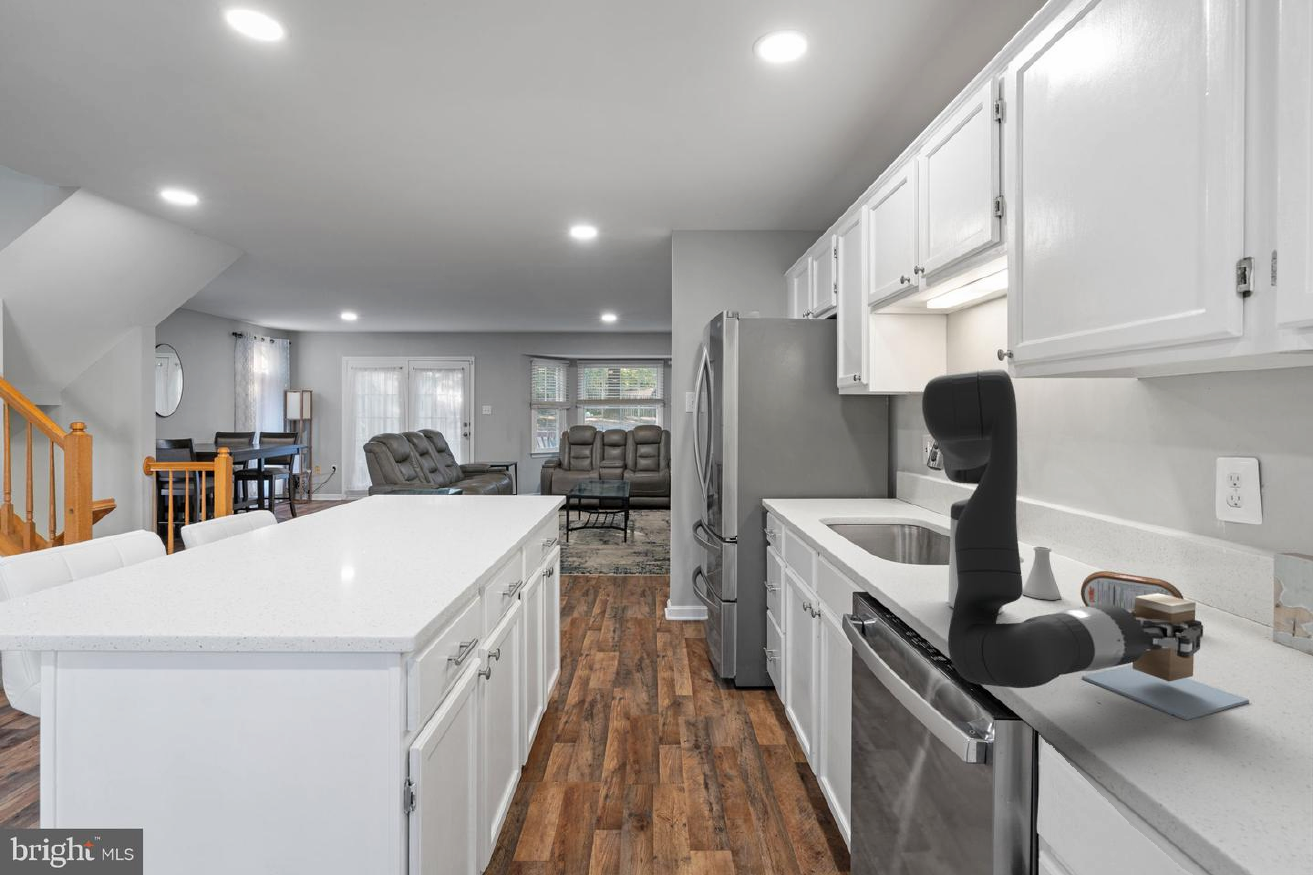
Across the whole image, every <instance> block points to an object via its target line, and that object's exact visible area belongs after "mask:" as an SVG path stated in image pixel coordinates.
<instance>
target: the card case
mask: <svg viewBox="0 0 1313 875" xmlns="http://www.w3.org/2000/svg"><path fill="white" fill-rule="evenodd" d="M1196 602H1197V601H1193V600H1187V599H1180V598H1176V597H1172V596H1168V595H1164V594H1159V593H1157V594H1150V595H1143V596H1136V597H1135V607H1134V613H1135V618H1138V617H1142V618H1145V619H1164V620H1166V621H1169V622H1171V623H1179V622H1185V621H1190V620H1196V604H1197V603H1196ZM1158 627H1159V626H1158ZM1175 632H1176V629H1174V630H1173V633H1172V638H1173V637H1175ZM1194 658H1195V654H1193V655H1192V656H1191V657H1190V658H1182V657H1179V656H1177V653H1176V652H1175V649H1172V648H1161V649H1158V650H1154V649H1151V650H1146V651H1145V652H1144V653H1143V654H1142V656H1141V657H1140V658H1139V659H1137V660H1136V661H1134V662H1132V665H1133V669H1135V670H1137V671H1140V672H1143V673H1146V674H1149V675H1152V676H1154V677H1157V678H1160V679H1163V680H1166V681H1169V682H1170V681H1174V680H1179V679H1183V678H1191V677H1193V676H1194V663H1195V662H1194Z"/></svg>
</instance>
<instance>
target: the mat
mask: <svg viewBox="0 0 1313 875" xmlns="http://www.w3.org/2000/svg"><path fill="white" fill-rule="evenodd" d="M1081 680H1085V681H1086V682H1089V683H1090V684H1091V683H1092V684H1094V685H1096V686H1099V687H1101V688H1104V689H1107V690H1109V691H1112V692H1114V693H1116V694H1118V695H1119V694H1120V695H1121V696H1125V697H1127V698H1129V699H1132V700H1135V701H1137V702H1139V703H1142V704H1144V705H1146V706H1150V707H1152V708H1154V709H1157V710H1159V711H1162V712H1164V713H1167V714H1169V715H1172V714H1173V716H1174V715H1175V717H1177V718H1179V719H1182V720H1185V721H1189V720H1193V719H1196V718H1199V717H1203V716H1207V715H1210V714H1213V713H1217V712H1220V711H1225V710H1227V709H1230V708H1232V709H1233V708H1235V707H1238V706H1241V705H1245V704H1248V703H1249V704H1250V699H1248V698H1246V697H1243V696H1240V695H1238V694H1235V693H1231V692H1229V691H1225V690H1222V689H1220V688H1217V687H1215V686H1214V687H1213V686H1211V685H1208V684H1205V683H1202V682H1199V681H1198V680H1197V681H1196V680H1193V679H1190V678H1189V677H1187V678H1183V679H1179V680H1174V681H1170V682H1169V681H1166V680H1163V679H1160V678H1157V677H1154V676H1152V675H1149V674H1146V673H1143V672H1140V671H1137V670H1135V669H1133V664H1130V665H1126V666H1125V665H1124V666H1121V667H1116V668H1111V669H1107V670H1102V671H1099V672H1098V671H1097V672H1093V673H1089V674H1084V675H1081Z"/></svg>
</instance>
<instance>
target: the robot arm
mask: <svg viewBox="0 0 1313 875" xmlns="http://www.w3.org/2000/svg"><path fill="white" fill-rule="evenodd" d="M921 406H922V407H921V408H922V409H921V410H922V416H923V420H924V423H925V426H926V428H927V431H928V433H929V434H930V436H931V437H932V438H933V440H934V441H935V442H936V445H937V447H938V449H939V452H940V453H941V455H942V462H943V464H942V465H943V470H944V472H945V476H946V477H947V478H948V480H950V481H951V482H953V483H956V484H967V485H968V484H969V485H972V484H973V485H977V486H976V488H975V489H974V491H973V493H972V495H971V496H970V498H967V499H966V498H965V499H963V500H959V501H955V502H954V503H952V504H951V507H950V530H949V531H950V542H949V556H948V558H949V559H948V562H949V563H948V601H949V602H948V605H949V607H951V608H952V612H951V618H950V623H949V628H948V629H949V630H948V636H947V647H948V654H949V658H950V660H951V662H952V665H953V667H954V669H955V671H956V672H957V673H958V675H959V676H960V677H961V678H963V679H964V680H965V681H966V682H969V683H972V684H976V685H981V686H983V685H984V686H991V687H992V686H993V687H1003V688H1011V689H1027V688H1035V687H1040V686H1043V685H1046V684H1048V683H1049V682H1052V681H1053V680H1055V679H1057V678H1058V677H1060V676H1063V675H1064V676H1065V675H1069V674H1074V673H1079V672H1094V671H1100V670H1104V669H1109V668H1113V667H1118V666H1123V665H1124V666H1125V665H1128V664H1133V662H1134V661H1136V660H1137V659H1139V658H1140V657H1141V656H1142V654H1143V653H1144V652H1145V651H1146V650H1151V649H1154V650H1158V649H1161V648H1172V649H1175V652H1176V653H1177V656H1179V657H1182V658H1190V657H1191V656H1192V655H1193V654H1194V655H1195V654H1196V653H1197V652H1198V651H1199V650H1201V638H1203V637H1204V625H1203V624H1202V621H1201V620H1197V619H1195V620H1190V621H1185V622H1179V623H1171V622H1169V621H1166V620H1164V619H1145V618H1142V617H1138V618H1135V613H1134V609H1128V610H1125V609H1124V608H1122V607H1119V606H1117V605H1113V604H1100V605H1093V606H1087V607H1086V606H1080V607H1075V608H1069V609H1064V610H1061V611H1059V612H1056V613H1050V614H1044V615H1038V616H1033V617H1029V618H1027V619H1025V620H1023V621H1022V622H1014V623H1013V622H1009V623H1001V622H1000V623H998V622H997V621H998V616H999V614H1002V613H1003V609H1004V607H1003V606H1006V605H1008V604H1010V603H1014V602H1015V601H1019V599H1020V598H1022V595H1023V594H1022V591H1023V587H1024V585H1023V577H1022V576H1023V575H1022V568H1021V567H1022V566H1021V558H1020V556H1021V555H1020V548H1019V540H1018V539H1019V538H1018V530H1017V529H1018V528H1017V497H1018V496H1017V494H1018V416H1017V415H1018V414H1017V412H1018V411H1017V401H1016V393H1015V389H1014V384H1013V381H1012V378H1011V376H1010V375H1009V373H1008V372H1007V371H1005V370H1004V369H1001V368H993V369H992V368H991V369H981V370H979V369H978V370H977V371H976V370H973V371H965V372H956V373H949V374H944V375H943V374H941V375H938V376H935V377H933V378H932V379H930V380H928V382H927V384H926V385H925V386H924V389H923V394H922V400H921ZM1158 626H1159V627H1158ZM1174 629H1176V632H1175V637H1173V638H1172V633H1173V630H1174Z"/></svg>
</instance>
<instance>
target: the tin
mask: <svg viewBox="0 0 1313 875" xmlns="http://www.w3.org/2000/svg"><path fill="white" fill-rule="evenodd" d="M1157 593H1159V594H1164V595H1168V596H1172V597H1176V598H1180V599H1184V596H1183V594H1182V593H1181V592H1180V590H1179V588H1177V587H1176V586H1175V585H1174V584H1172V583H1170V582H1168V581H1167V580H1164V579H1161V578H1155V577H1148V576H1143V575H1134V574H1128V573H1123V572H1114V571H1107V570H1102V571H1101V570H1099V571H1095V572H1092V573H1091V574H1089V575H1087V576H1086V578H1085V579H1084V580H1083V582H1082V585H1081V589H1080V597H1081V600H1082V602H1083V604H1084V606H1085V607H1087V606H1093V605H1100V604H1113V605H1117V606H1119V607H1122V608H1124V609H1125V610H1128V609H1134V607H1135V597H1136V596H1143V595H1150V594H1157Z"/></svg>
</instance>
